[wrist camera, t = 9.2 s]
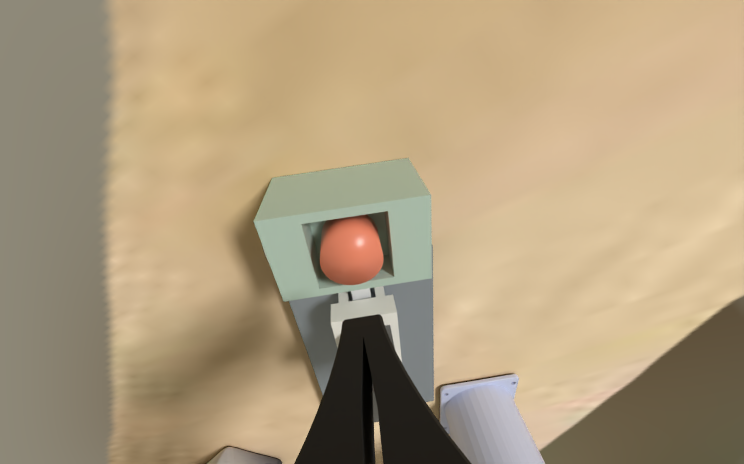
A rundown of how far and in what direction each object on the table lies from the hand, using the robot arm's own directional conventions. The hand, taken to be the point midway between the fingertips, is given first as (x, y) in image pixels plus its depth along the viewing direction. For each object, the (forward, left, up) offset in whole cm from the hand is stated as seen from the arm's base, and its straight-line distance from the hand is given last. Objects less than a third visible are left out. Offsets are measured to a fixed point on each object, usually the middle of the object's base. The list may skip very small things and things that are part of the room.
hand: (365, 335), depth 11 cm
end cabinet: (0, 0, -10) cm, 10 cm away
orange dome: (0, 0, -6) cm, 7 cm away
